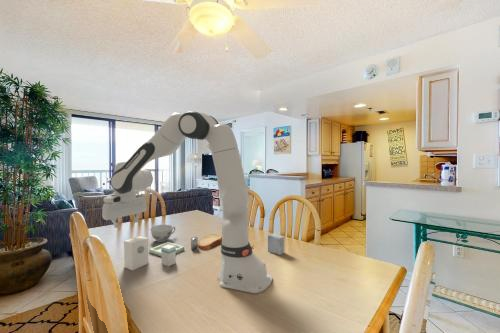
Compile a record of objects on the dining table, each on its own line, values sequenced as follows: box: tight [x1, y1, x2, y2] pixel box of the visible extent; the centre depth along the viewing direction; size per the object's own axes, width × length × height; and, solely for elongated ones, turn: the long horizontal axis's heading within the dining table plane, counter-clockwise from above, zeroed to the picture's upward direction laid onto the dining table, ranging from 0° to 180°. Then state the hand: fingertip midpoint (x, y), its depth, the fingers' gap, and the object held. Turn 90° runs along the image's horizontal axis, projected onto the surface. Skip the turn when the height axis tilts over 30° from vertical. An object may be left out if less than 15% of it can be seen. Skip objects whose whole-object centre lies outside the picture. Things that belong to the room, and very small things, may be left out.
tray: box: [148, 241, 185, 258], centre depth 124 cm, size 13×12×2 cm
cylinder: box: [190, 236, 199, 251], centre depth 127 cm, size 4×4×6 cm
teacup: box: [150, 224, 176, 243], centre depth 141 cm, size 15×12×8 cm
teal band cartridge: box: [161, 244, 177, 267], centre depth 110 cm, size 5×4×8 cm
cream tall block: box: [123, 235, 150, 271], centre depth 108 cm, size 7×8×12 cm
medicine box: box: [267, 233, 285, 256], centre depth 123 cm, size 8×4×9 cm, turn 47°
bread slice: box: [198, 233, 222, 251], centre depth 136 cm, size 18×18×4 cm
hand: (126, 224), depth 111 cm, fingers open, 8 cm apart
